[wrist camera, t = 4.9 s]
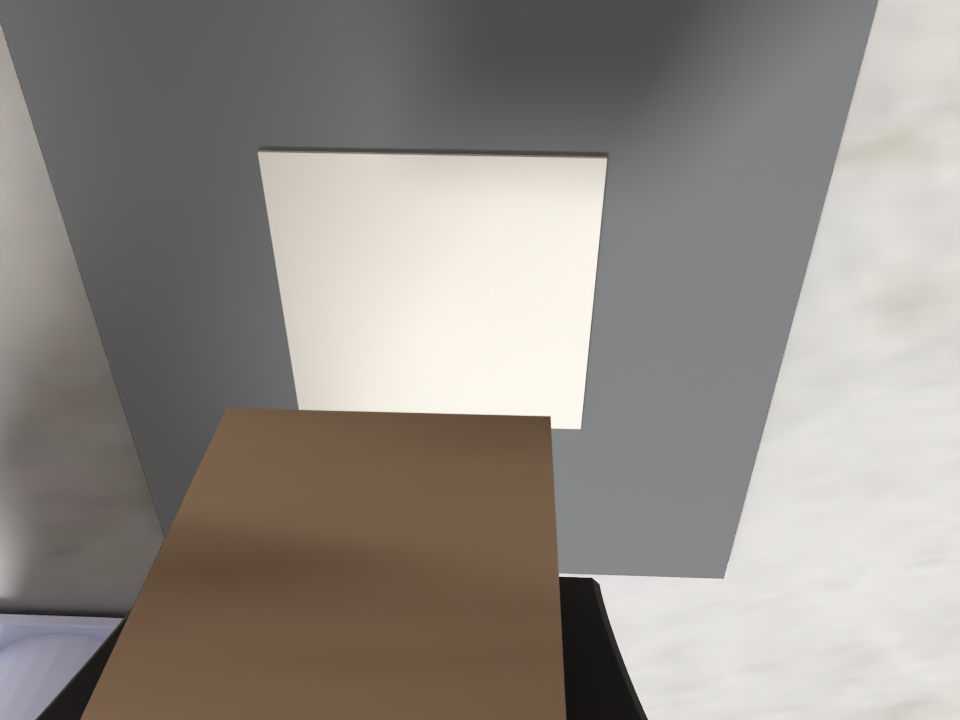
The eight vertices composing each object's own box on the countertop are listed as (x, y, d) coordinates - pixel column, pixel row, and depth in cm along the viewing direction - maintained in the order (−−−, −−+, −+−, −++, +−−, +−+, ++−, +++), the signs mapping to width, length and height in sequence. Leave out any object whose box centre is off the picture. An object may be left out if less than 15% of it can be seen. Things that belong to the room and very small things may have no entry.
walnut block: (537, 622, 14) (544, 974, 10) (273, 613, 14) (171, 957, 10) (550, 416, 11) (568, 780, 7) (226, 407, 11) (63, 758, 7)
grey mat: (720, 567, 24) (724, 581, 23) (176, 549, 24) (170, 563, 24) (913, -173, 13) (926, -172, 13) (-50, -179, 14) (-68, -177, 13)
